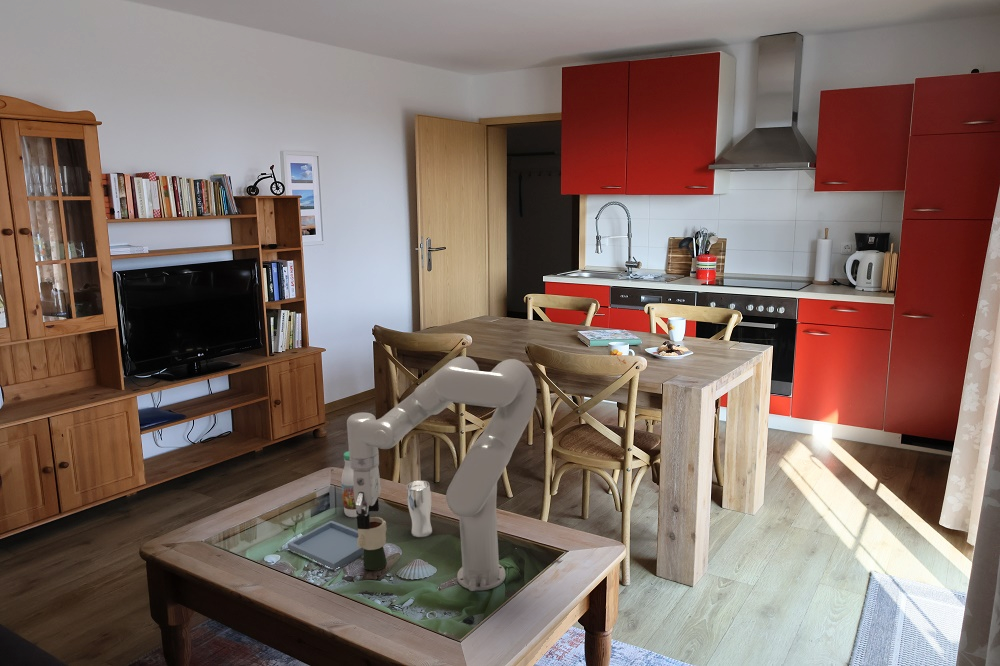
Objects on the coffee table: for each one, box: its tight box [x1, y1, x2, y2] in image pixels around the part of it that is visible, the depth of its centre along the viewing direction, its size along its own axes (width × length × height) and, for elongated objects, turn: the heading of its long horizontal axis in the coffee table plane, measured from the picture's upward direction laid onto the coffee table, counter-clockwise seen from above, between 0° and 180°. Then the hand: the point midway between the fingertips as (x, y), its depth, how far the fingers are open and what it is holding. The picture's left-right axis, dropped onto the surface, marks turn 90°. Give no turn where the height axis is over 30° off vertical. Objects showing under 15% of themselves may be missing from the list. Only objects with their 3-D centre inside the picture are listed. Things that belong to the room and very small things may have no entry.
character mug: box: [357, 516, 388, 571], centre depth 196 cm, size 11×7×13 cm, turn 147°
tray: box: [287, 520, 364, 569], centre depth 208 cm, size 20×16×2 cm
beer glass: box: [406, 480, 433, 538], centre depth 213 cm, size 7×7×15 cm
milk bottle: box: [340, 450, 366, 518], centre depth 227 cm, size 8×8×20 cm
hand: (368, 519), depth 195 cm, fingers open, 9 cm apart
